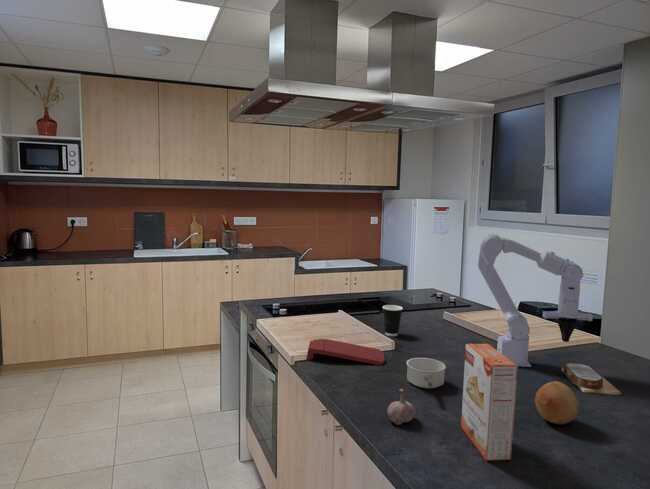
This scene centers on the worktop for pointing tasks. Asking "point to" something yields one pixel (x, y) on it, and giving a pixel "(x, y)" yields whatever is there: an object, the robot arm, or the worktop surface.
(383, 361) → the red flat block
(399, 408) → the garlic bulb
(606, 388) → the oak board
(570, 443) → the worktop surface
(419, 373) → the white ceramic ramekin
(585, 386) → the tin
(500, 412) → the cracker box
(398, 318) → the dixie cup
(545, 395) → the onion
